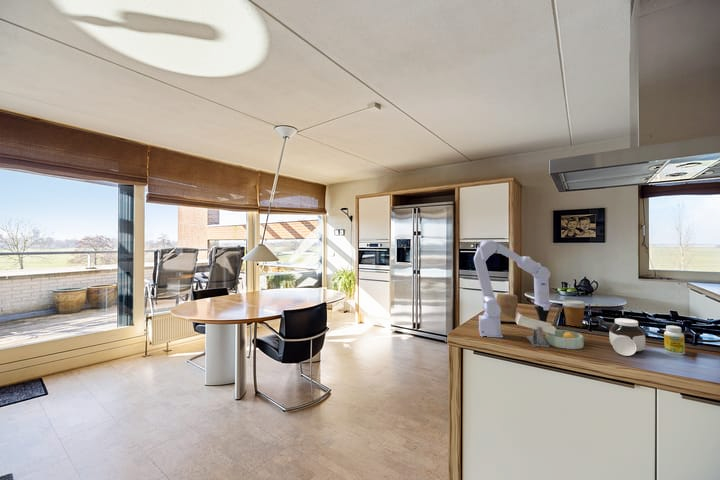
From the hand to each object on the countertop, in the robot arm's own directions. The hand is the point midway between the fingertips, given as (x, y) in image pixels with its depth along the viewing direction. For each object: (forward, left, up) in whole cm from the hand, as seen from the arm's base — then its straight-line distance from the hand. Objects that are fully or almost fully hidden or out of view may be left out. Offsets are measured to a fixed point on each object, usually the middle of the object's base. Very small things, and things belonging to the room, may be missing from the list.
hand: (542, 322), depth 138 cm
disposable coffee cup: (+19, +20, -6) cm, 28 cm away
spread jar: (+25, -15, -6) cm, 29 cm away
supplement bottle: (+41, -12, -6) cm, 43 cm away
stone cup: (-12, +24, -6) cm, 28 cm away
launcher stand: (-4, -9, -6) cm, 12 cm away
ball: (+7, -9, -3) cm, 12 cm away
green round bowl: (+6, -9, -6) cm, 12 cm away
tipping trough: (-6, -5, 0) cm, 8 cm away
